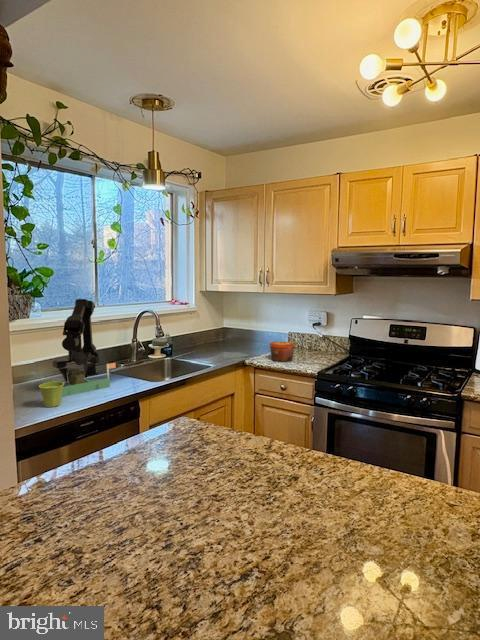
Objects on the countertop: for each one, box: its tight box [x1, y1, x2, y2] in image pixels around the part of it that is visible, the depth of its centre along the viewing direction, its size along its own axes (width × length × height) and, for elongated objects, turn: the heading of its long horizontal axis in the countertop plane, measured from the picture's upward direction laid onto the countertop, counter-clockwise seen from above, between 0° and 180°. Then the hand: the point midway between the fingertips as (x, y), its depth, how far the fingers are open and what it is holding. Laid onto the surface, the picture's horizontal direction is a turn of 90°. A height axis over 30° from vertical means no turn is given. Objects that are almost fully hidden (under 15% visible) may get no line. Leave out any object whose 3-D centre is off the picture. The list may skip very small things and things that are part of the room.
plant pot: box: [38, 381, 65, 408], centre depth 169 cm, size 9×9×9 cm
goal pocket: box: [62, 362, 117, 397], centre depth 193 cm, size 12×30×11 cm, turn 135°
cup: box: [67, 370, 85, 386], centre depth 192 cm, size 8×7×8 cm
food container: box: [269, 340, 296, 363], centre depth 258 cm, size 16×16×11 cm
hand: (76, 379), depth 192 cm, fingers open, 9 cm apart
